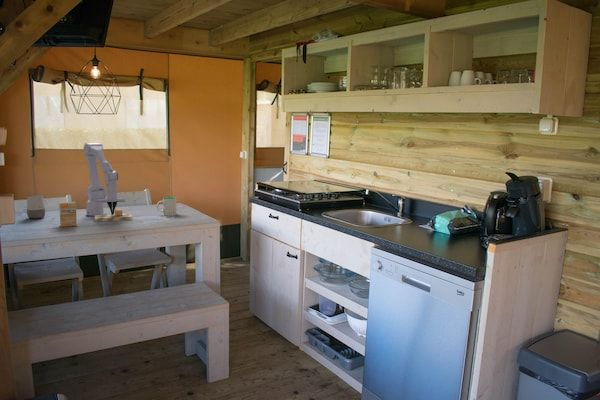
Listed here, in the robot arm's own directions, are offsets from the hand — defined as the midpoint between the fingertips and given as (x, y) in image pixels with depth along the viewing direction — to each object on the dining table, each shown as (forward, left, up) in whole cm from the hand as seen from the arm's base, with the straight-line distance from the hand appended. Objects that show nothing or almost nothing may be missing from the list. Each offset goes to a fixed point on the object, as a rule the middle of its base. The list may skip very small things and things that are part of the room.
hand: (112, 214), depth 286 cm
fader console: (0, 0, -3) cm, 3 cm away
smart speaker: (-44, -8, -3) cm, 45 cm away
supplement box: (-14, -22, -3) cm, 26 cm away
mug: (+24, +22, -3) cm, 33 cm away
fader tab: (+3, +2, 0) cm, 3 cm away
